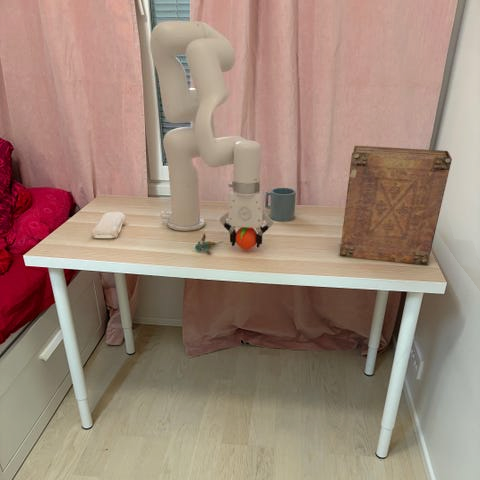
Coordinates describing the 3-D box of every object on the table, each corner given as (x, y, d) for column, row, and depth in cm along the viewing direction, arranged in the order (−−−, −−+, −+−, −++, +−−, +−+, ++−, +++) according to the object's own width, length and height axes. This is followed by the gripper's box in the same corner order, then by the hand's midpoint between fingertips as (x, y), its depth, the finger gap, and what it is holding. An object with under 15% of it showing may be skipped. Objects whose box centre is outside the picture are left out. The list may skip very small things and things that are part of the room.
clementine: (252, 255, 142) (252, 232, 138) (230, 252, 144) (230, 229, 140) (260, 245, 148) (261, 223, 144) (239, 242, 150) (239, 221, 146)
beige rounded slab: (116, 239, 153) (114, 226, 151) (91, 239, 153) (89, 226, 151) (128, 221, 169) (126, 208, 166) (105, 220, 169) (104, 208, 167)
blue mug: (298, 216, 173) (300, 190, 168) (285, 222, 168) (286, 196, 163) (272, 209, 180) (273, 184, 175) (258, 215, 174) (258, 189, 169)
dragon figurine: (200, 238, 151) (190, 237, 144) (220, 231, 149) (212, 230, 142) (205, 258, 152) (196, 258, 144) (226, 251, 149) (218, 251, 142)
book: (338, 255, 143) (351, 151, 127) (341, 244, 150) (353, 145, 135) (427, 265, 137) (452, 157, 121) (426, 253, 144) (448, 150, 129)
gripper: (214, 189, 134) (215, 248, 143) (275, 192, 132) (273, 252, 141) (219, 182, 140) (220, 239, 150) (278, 184, 138) (275, 242, 147)
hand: (246, 244), depth 145 cm, fingers closed on clementine, 7 cm apart
